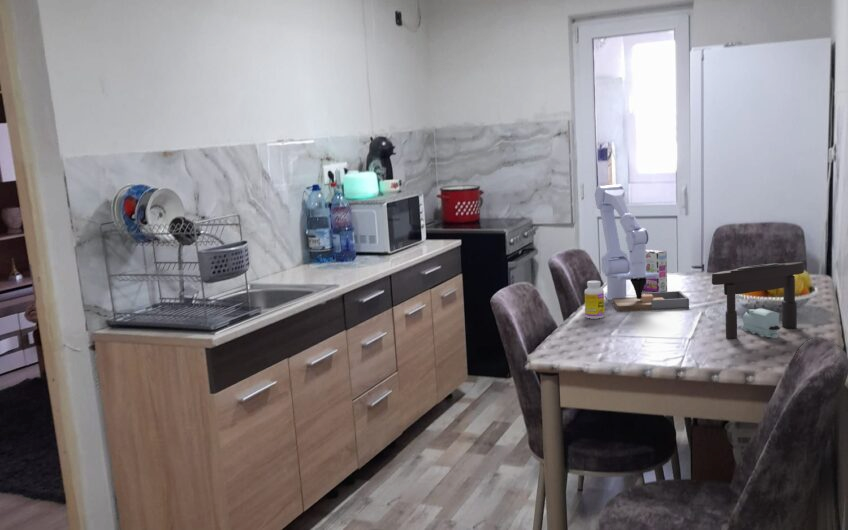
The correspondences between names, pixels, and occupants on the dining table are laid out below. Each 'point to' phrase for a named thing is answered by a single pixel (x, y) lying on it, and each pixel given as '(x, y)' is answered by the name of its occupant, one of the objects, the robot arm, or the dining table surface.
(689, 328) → the dining table surface
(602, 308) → the supplement bottle
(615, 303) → the board
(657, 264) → the candy bar box
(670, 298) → the tray
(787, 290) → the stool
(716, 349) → the dining table surface
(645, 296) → the tile
